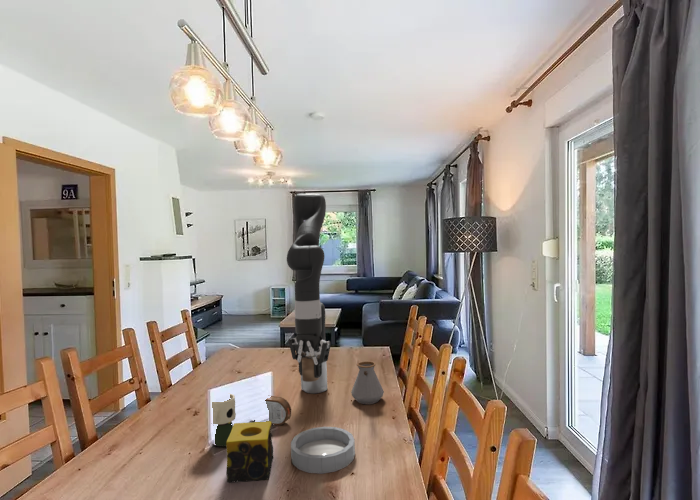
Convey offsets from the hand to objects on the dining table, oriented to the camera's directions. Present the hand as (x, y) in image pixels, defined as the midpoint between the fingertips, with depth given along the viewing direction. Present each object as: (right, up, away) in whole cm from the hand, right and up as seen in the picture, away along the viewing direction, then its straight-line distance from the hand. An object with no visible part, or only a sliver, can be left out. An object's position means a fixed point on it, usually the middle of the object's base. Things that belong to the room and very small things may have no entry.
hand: (310, 375), depth 113 cm
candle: (-13, -19, -14) cm, 27 cm away
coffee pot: (+17, -18, +23) cm, 33 cm away
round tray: (+4, -18, -9) cm, 21 cm away
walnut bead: (0, -1, 0) cm, 1 cm away
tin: (-14, -19, +12) cm, 27 cm away
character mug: (-25, -19, 0) cm, 31 cm away
